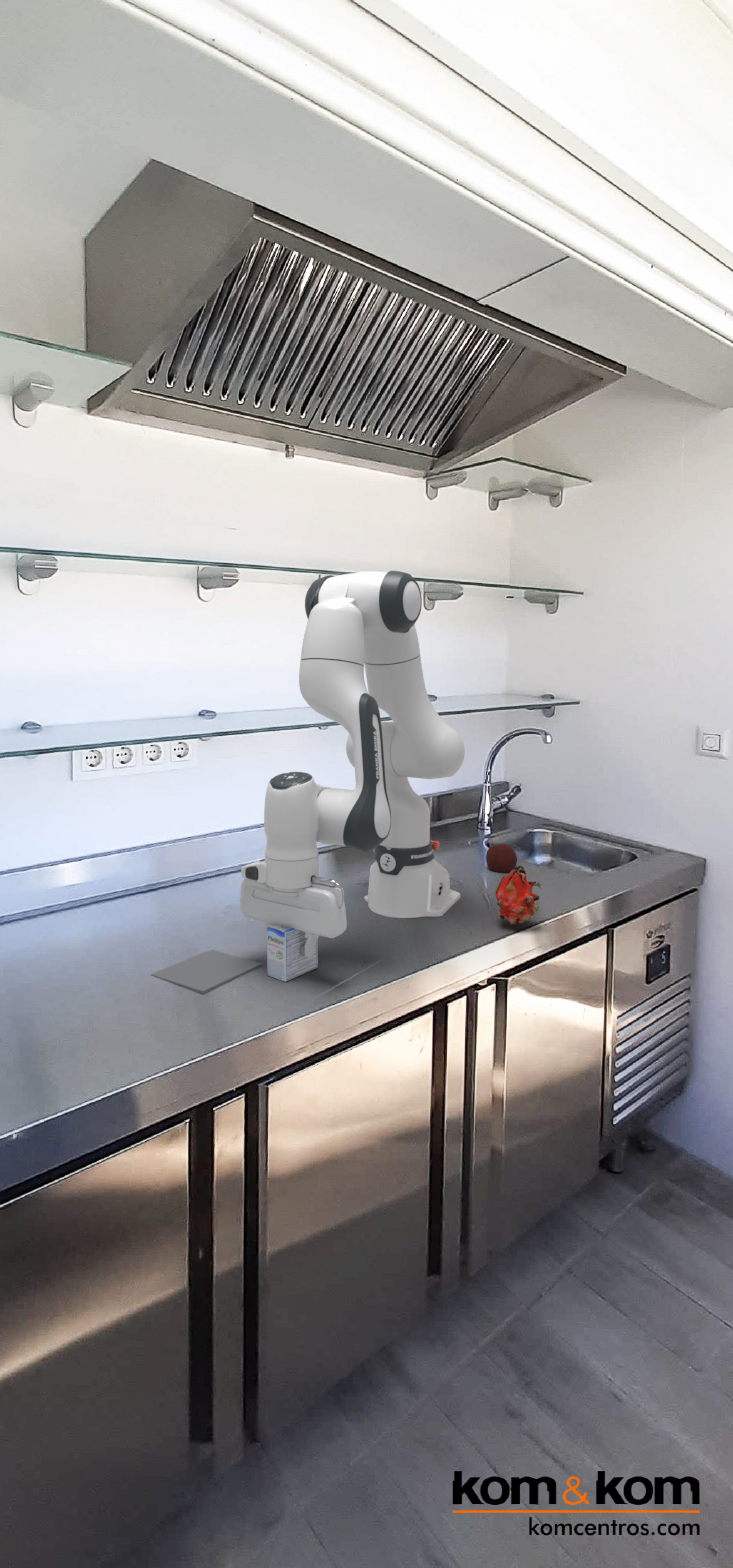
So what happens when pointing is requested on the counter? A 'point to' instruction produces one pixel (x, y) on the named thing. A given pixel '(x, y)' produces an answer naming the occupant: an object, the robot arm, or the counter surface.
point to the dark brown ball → (501, 858)
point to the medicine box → (288, 953)
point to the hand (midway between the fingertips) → (292, 951)
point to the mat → (207, 971)
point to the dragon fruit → (516, 897)
